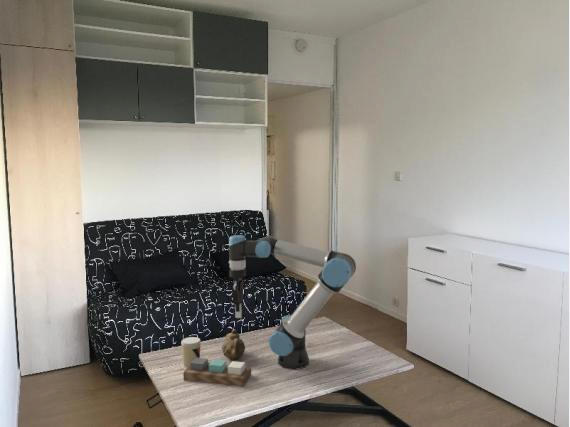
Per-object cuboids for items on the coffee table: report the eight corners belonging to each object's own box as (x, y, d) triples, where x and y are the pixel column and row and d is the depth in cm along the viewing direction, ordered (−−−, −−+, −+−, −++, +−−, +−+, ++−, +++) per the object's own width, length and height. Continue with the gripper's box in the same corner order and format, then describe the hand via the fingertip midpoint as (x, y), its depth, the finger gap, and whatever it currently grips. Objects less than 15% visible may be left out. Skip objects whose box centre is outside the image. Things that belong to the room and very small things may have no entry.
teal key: (226, 371, 216) (226, 360, 215) (221, 376, 210) (221, 366, 209) (214, 369, 217) (213, 359, 217) (209, 375, 211) (208, 364, 211)
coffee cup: (196, 369, 223) (196, 344, 222) (178, 367, 225) (177, 343, 224) (204, 361, 232) (203, 337, 231) (186, 359, 234) (185, 336, 233)
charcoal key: (207, 369, 218) (207, 358, 217) (202, 374, 212) (202, 364, 211) (195, 367, 219) (195, 357, 219) (190, 373, 213) (190, 362, 213)
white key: (244, 373, 214) (244, 362, 213) (240, 378, 208) (240, 368, 207) (232, 371, 215) (232, 361, 214) (227, 377, 209) (227, 366, 209)
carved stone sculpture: (218, 352, 243) (218, 323, 242) (240, 349, 247) (240, 321, 245) (226, 368, 223) (226, 338, 222) (250, 365, 227) (250, 335, 225)
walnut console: (251, 375, 216) (251, 366, 216) (242, 387, 205) (242, 378, 204) (194, 369, 223) (194, 361, 222) (183, 380, 211) (183, 371, 211)
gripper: (233, 265, 227) (234, 312, 230) (225, 271, 215) (226, 321, 217) (248, 265, 226) (249, 313, 228) (241, 271, 213) (242, 322, 216)
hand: (238, 317), depth 223 cm, fingers closed
